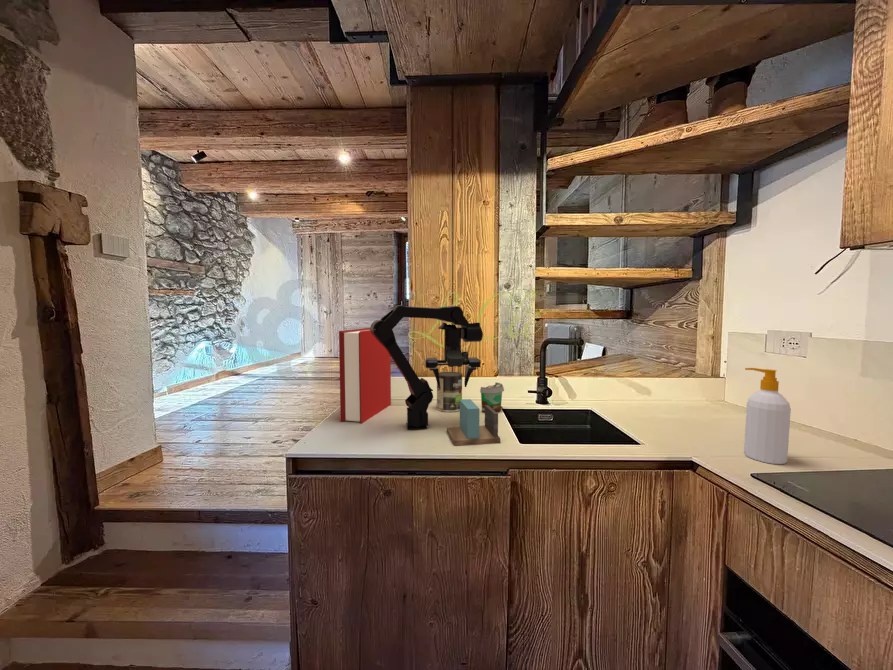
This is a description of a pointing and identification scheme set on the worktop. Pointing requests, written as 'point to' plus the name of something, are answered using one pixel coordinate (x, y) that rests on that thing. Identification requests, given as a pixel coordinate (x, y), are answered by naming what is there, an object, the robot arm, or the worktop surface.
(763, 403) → the soap bottle
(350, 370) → the book
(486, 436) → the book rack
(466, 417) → the teal book
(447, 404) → the coffee can
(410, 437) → the worktop surface
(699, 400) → the worktop surface
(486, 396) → the food container
